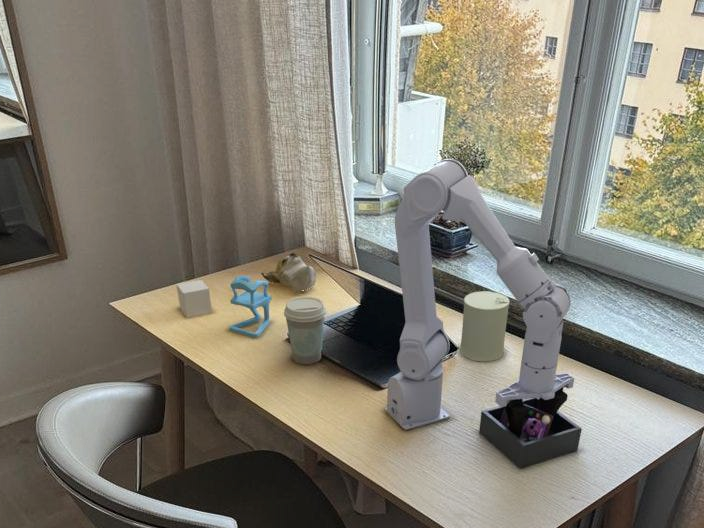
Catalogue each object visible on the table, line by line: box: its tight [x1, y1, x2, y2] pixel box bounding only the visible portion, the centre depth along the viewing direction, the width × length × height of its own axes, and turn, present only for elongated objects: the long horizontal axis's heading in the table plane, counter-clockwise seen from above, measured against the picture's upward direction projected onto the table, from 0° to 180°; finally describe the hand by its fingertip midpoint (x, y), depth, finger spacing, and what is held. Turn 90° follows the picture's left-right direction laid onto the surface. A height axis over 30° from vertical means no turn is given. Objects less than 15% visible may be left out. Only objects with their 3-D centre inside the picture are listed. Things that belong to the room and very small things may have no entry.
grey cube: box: [176, 279, 213, 319], centre depth 181 cm, size 6×6×6 cm
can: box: [459, 290, 511, 362], centre depth 160 cm, size 9×9×12 cm
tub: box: [478, 398, 582, 469], centre depth 134 cm, size 12×12×5 cm
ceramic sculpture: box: [260, 252, 317, 294], centre depth 191 cm, size 11×9×15 cm
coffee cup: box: [283, 296, 327, 365], centre depth 159 cm, size 8×8×12 cm
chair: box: [228, 275, 273, 339], centre depth 171 cm, size 8×8×12 cm
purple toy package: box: [500, 404, 553, 439], centre depth 134 cm, size 7×5×9 cm
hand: (528, 431), depth 134 cm, fingers open, 5 cm apart
